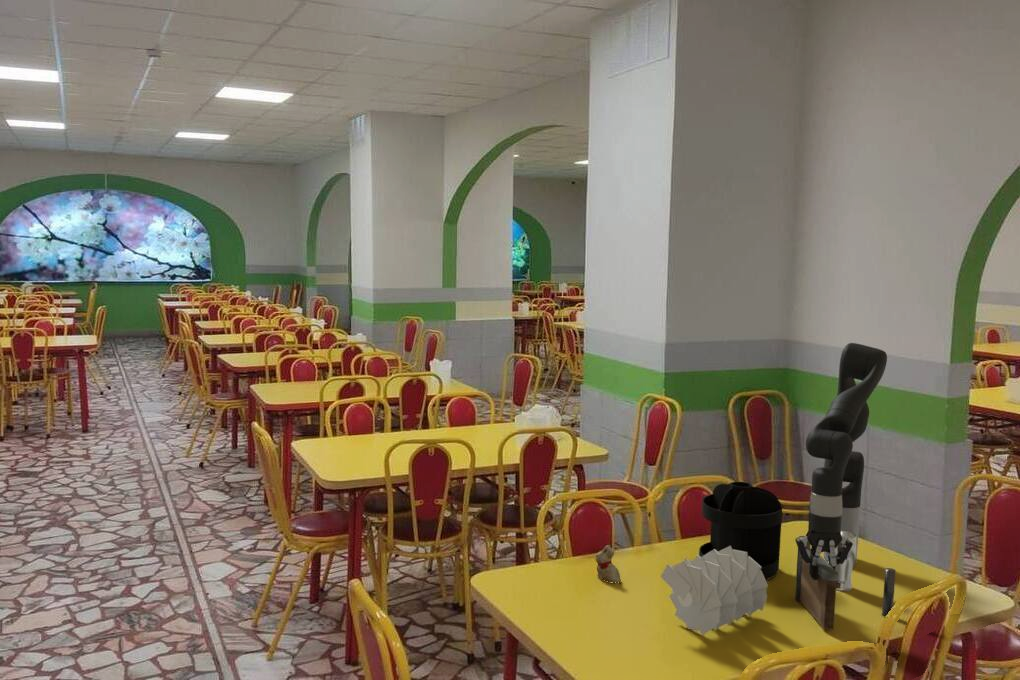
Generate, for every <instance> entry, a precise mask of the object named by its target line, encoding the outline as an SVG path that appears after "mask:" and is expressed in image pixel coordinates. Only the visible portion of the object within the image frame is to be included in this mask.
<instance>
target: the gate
mask: <svg viewBox="0 0 1020 680" xmlns="http://www.w3.org/2000/svg"><path fill="white" fill-rule="evenodd" d="M805 549H806V551H807V554H808V556H809V557H810V554H811V548H810V549H808V548H805ZM801 557H802V556H801ZM828 563H829V562H828V561H827V560H825V559H824V557H823V556H821V555H820V557H819V558H818V562H817V566H818V573H817V580H813V579H812V577H811V576H810V574H809V570H810V563H806V562H805V561H804V560H803V559H802V575H801V591H800V601H801V602H802V603H801V604H802V605H803V606H804V607H805V608H806V609H807V611H808V612H809V613H810V614H811V615H812V617H813V618H815V620H816V621H817V622H818V624H820V625H819V626H820V627H821V628H822V629H824V630H834V626H835V625H834V624H835V609H836V597H837V596H836V595H837V594H836V593H837V590H836V581H838V572H837V571H836V570H835V569H834V568H833V567H832V566H831V565H829V564H828Z"/></svg>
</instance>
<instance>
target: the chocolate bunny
mask: <svg viewBox="0 0 1020 680" xmlns="http://www.w3.org/2000/svg"><path fill="white" fill-rule="evenodd" d="M614 555H615V550H614V549H613V548H612V547H611V545H610V544H608V545H605V546H604V548H603V549H602V550H600V551H599V552H597V553H596V555H595V562H596V563H597V566H596V572H597V574H596V576H598V577H599V578H600V579H602V580H605V581H608V582H613V583H612V584H615V582H616V583H618V582H619V583H620V582H621V583H622V581H621V580H622V579H621V575H620V574H621V573H620V571H619V569H618V567H616V565H614V564H613V563H612V559H613V556H614ZM598 577H597V578H598ZM599 578H598V579H599ZM600 579H599V580H600ZM602 580H601V581H602ZM605 581H604V582H605ZM608 582H607V583H608ZM621 583H620V584H621Z"/></svg>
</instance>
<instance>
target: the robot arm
mask: <svg viewBox="0 0 1020 680" xmlns="http://www.w3.org/2000/svg"><path fill="white" fill-rule="evenodd" d="M840 355H841V356H840V359H839V368H838V369H839V370H838V382H837V393H836V397H834V398H833V400H832V401H831V404H830V405H829V407H828V410H827V412H826V414H825V415H824V417H823V418H822V419H820V421H818V423H817V424H816V425H815V426H813V428H811V430H810V431H809V433H808V434H807V437H806V439H805V449H806V451H807V453H808V455H810V456H811V457H813V458H817V459H824V464H823V467H816V468H815V469H814V470H813V471H812V474H811V489H810V490H811V493H810V496H809V497H810V498H809V505H808V506H809V509H808V510H809V511H808V527H807V528H808V530H807V532H806V534H805V535H804V536H805V537H802V538H799V537H795V543H796V546H797V550H798V549H799V551H800V554H801V556H802V559H803V560H804V561H805V562H806V563H810V570H809V574H810V576H811V577H812V579H813V580H817V573H818V566H817V562H818V558H819V557H820V556H821V553H823V559H824V560H825V561H826V562H827V563H828V564H829V565H831V566H832V567H833V568H834V569H835V568H836V565H837V564H843V563H844V561H845V559H846V557H847V555H848V553H849V551H850V549H851V547H852V545H853V543H852V542H851V541H850V540H848V539H844V538H842V536H841V530H842V531H848V532H852V533H854V534H856V557H855V561H854V565H855V564H857V559H858V548H859V547H858V546H859V532H860V516H861V515H860V514H861V502H862V501H861V499H862V488H863V479H864V472H865V471H864V470H865V458H864V455H863V454H862V452H860V451H853V447H854V444H853V443H854V442H855V441H857V440H858V439H859V438H861V436H863V434H864V433H865V431H866V430H867V427H868V422H869V419H870V418H869V417H870V407H869V405H868V402H867V401H868V400H869V398H870V397H871V395H872V393H873V392H874V390H875V389H876V388H877V386H878V385H879V383H880V381H881V380H882V377H883V376H884V373H885V370H886V367H887V363H888V356H887V353H886V351H884V350H883V349H881V348H876V347H872V346H870V345H869V346H868V345H865V344H860V343H857V342H848V343H847V344H846V345H845V346H844V347H843V349H842V351H841V354H840ZM855 380H858V381H860V382H858V383H856V381H855ZM843 483H849V484H848V485H846V486H844V487H843ZM807 541H809V543H810V549H811V554H810V557H809V556H808V554H807V551H806V549H805V547H806V546H807ZM840 542H841V548H840V550H839V552H838V554H837V556H836V552H835V548H836V547H837V546H838V545H839V544H840Z"/></svg>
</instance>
